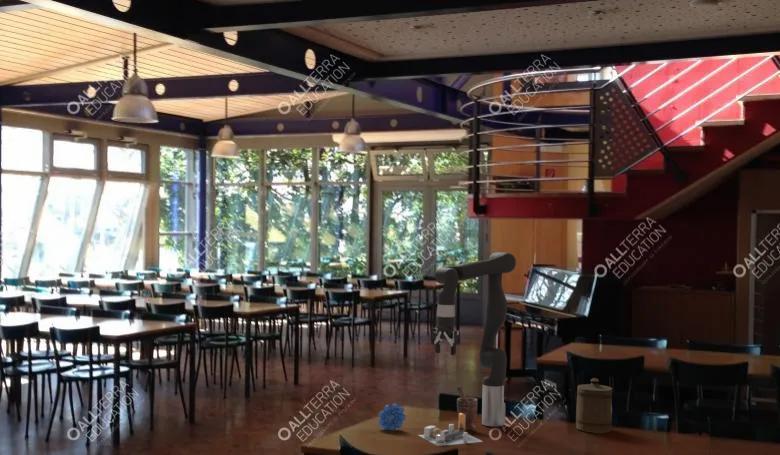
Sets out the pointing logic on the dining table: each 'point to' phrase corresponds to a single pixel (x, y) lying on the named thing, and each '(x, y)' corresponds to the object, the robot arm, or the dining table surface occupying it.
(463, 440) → the nutcracker base
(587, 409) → the wooden container
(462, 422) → the lever
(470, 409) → the mortar and pestle
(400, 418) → the blue lumpy cluster
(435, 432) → the hazelnut
